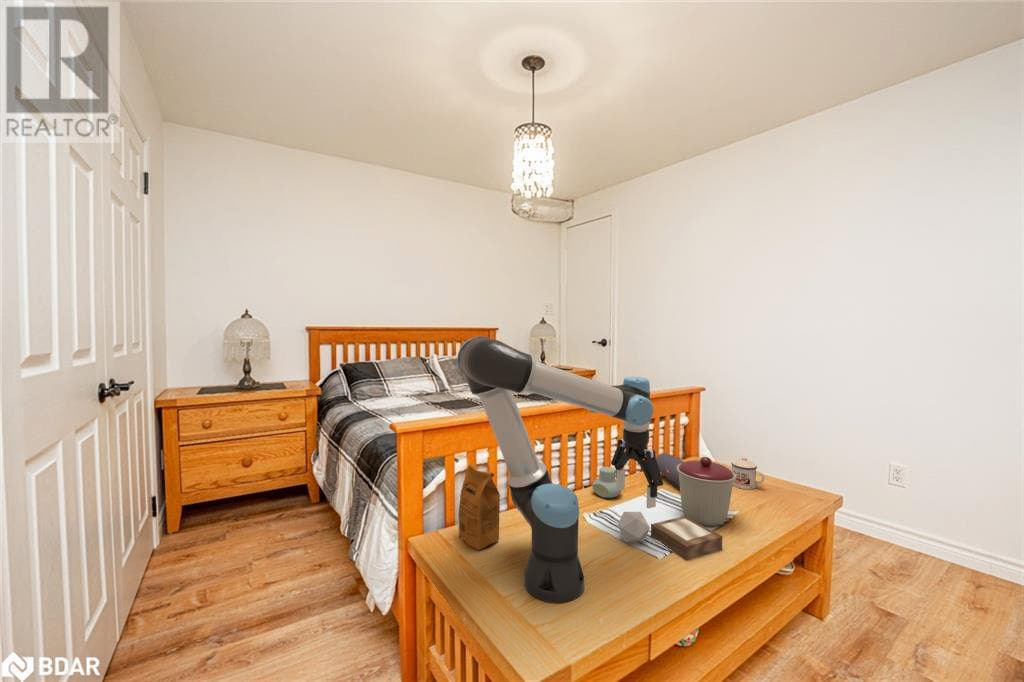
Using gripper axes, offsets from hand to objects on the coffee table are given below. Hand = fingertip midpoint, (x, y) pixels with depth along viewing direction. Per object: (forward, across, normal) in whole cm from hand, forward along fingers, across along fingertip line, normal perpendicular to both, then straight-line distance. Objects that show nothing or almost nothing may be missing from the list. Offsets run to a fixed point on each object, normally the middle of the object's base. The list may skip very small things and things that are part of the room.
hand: (635, 498), depth 129 cm
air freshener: (+13, +30, -12) cm, 35 cm away
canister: (+13, +1, -30) cm, 33 cm away
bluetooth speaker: (+14, +27, -46) cm, 55 cm away
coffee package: (+12, +19, +44) cm, 49 cm away
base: (+13, -8, -12) cm, 20 cm away
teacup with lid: (+14, +14, -70) cm, 72 cm away
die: (+13, 0, 0) cm, 13 cm away
